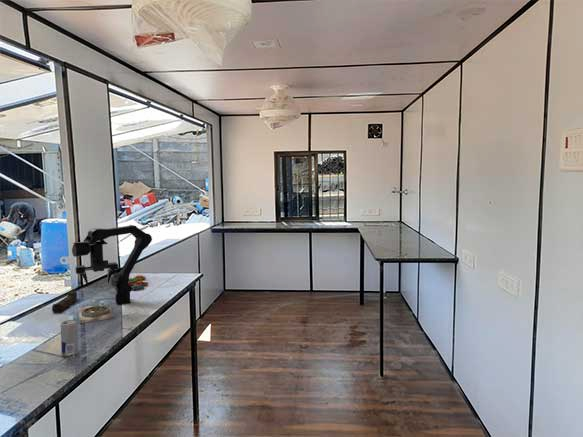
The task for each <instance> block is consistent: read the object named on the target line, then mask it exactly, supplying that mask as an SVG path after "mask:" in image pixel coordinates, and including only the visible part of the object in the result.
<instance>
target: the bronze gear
mask: <svg viewBox="0 0 583 437" xmlns="http://www.w3.org/2000/svg"><path fill="white" fill-rule="evenodd" d="M99 304H100V299H92V300H91V306H92V309H89V310H88V311H86V313H99V312H102V311H105V309H102V308H99Z"/></svg>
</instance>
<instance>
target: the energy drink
mask: <svg viewBox="0 0 583 437" xmlns="http://www.w3.org/2000/svg"><path fill="white" fill-rule="evenodd" d="M78 333H79V331H78V322H77V320H76V319H75V320H74V319H68V320H64V321H62V322H61V324H60V340H61V341H60V342H61V344H60V345H61V346H60V347H61V355H62V357H65V356H69V357H72V356H71V355H73V356H76V355H77V354H79V334H78ZM75 354H76V355H75Z"/></svg>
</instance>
